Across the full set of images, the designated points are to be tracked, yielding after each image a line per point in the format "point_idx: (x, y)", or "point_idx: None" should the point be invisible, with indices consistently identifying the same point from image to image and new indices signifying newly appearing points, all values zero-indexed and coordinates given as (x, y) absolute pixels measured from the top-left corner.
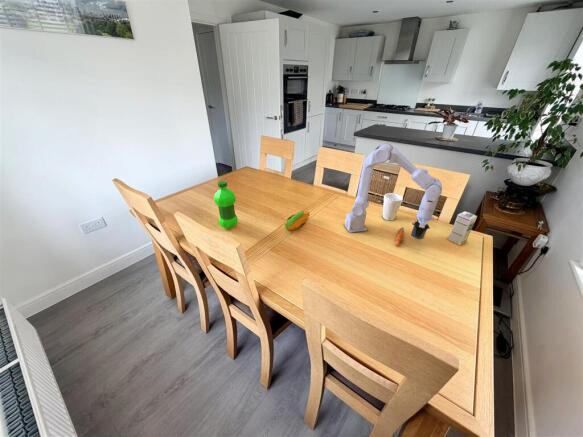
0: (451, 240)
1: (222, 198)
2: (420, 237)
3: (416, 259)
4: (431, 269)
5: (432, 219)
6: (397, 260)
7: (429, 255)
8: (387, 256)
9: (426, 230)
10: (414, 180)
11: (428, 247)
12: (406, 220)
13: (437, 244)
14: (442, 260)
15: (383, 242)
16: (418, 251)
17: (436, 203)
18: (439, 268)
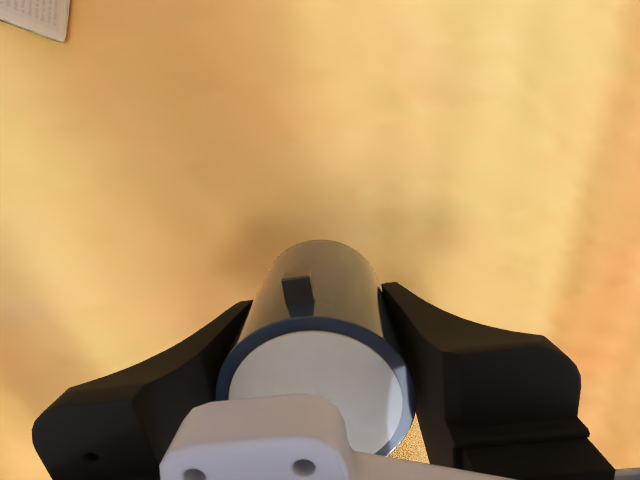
0: (64, 5)
1: None
2: (372, 273)
3: (526, 204)
4: (606, 78)
5: (347, 466)
6: (599, 303)
7: (420, 133)
8: (582, 360)
9: (328, 281)
10: None
11: (312, 164)
12: (62, 375)
13: (217, 110)
14: (433, 22)
15: None
16: (414, 215)
17: None
18: (563, 21)
